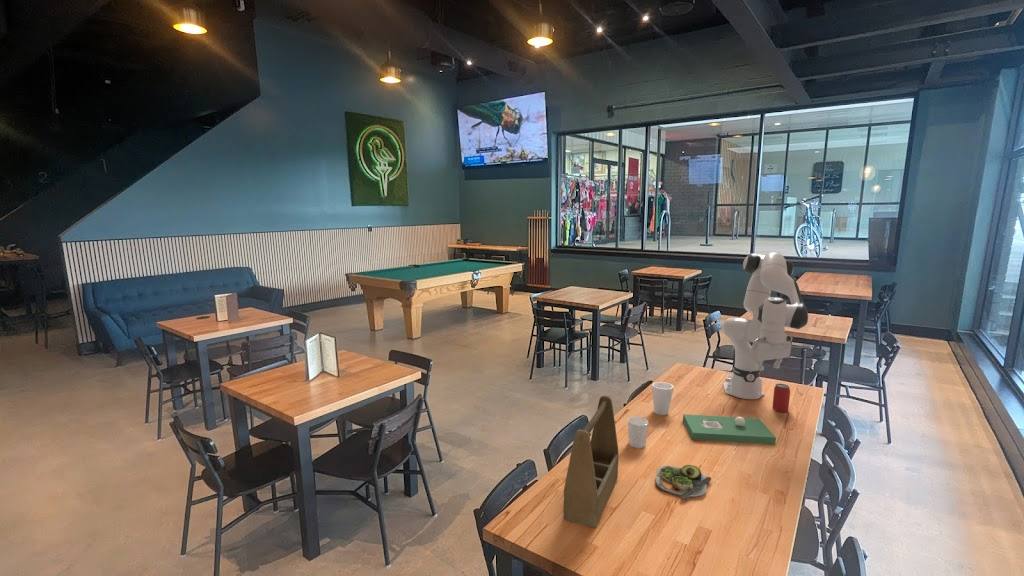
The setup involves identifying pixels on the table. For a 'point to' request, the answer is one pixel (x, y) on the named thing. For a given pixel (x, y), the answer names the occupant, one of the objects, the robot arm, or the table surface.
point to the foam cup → (662, 397)
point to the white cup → (637, 431)
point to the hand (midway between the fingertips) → (768, 369)
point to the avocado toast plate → (683, 480)
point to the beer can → (781, 398)
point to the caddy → (592, 468)
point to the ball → (739, 421)
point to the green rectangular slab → (727, 429)
